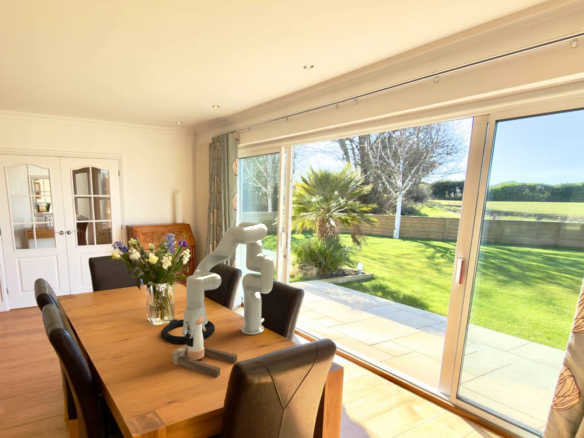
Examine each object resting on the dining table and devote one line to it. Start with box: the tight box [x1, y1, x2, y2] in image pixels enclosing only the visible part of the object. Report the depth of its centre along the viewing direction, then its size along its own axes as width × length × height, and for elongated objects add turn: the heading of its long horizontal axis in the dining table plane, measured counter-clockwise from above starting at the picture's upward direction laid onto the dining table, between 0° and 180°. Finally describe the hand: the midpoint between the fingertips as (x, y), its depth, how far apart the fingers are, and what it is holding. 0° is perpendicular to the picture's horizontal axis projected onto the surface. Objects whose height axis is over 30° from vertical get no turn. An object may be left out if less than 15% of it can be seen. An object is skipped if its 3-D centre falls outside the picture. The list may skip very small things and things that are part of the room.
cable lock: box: [160, 318, 216, 345], centre depth 171 cm, size 28×4×30 cm
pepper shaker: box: [187, 317, 205, 361], centre depth 141 cm, size 7×7×19 cm
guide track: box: [172, 344, 238, 378], centre depth 139 cm, size 14×24×5 cm, turn 65°
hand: (195, 342), depth 141 cm, fingers closed on pepper shaker, 6 cm apart
